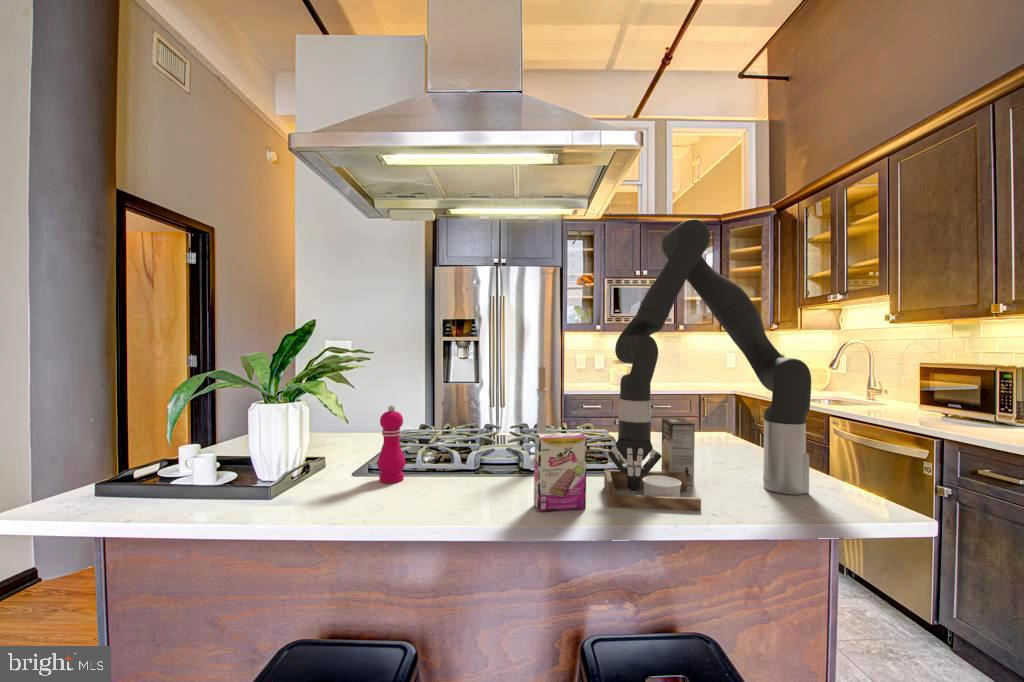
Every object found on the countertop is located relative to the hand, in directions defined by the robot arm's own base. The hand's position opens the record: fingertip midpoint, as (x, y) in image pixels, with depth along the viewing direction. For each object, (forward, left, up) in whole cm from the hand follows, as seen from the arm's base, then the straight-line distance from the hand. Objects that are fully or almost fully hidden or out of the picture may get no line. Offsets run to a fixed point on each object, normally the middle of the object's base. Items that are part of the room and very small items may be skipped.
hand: (633, 490), depth 115 cm
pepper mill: (+62, -6, -2) cm, 63 cm away
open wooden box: (-4, 0, -2) cm, 4 cm away
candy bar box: (+17, +9, -2) cm, 19 cm away
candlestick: (+23, -25, -2) cm, 34 cm away
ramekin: (-7, 0, -2) cm, 7 cm away
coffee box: (-14, -16, -2) cm, 21 cm away
